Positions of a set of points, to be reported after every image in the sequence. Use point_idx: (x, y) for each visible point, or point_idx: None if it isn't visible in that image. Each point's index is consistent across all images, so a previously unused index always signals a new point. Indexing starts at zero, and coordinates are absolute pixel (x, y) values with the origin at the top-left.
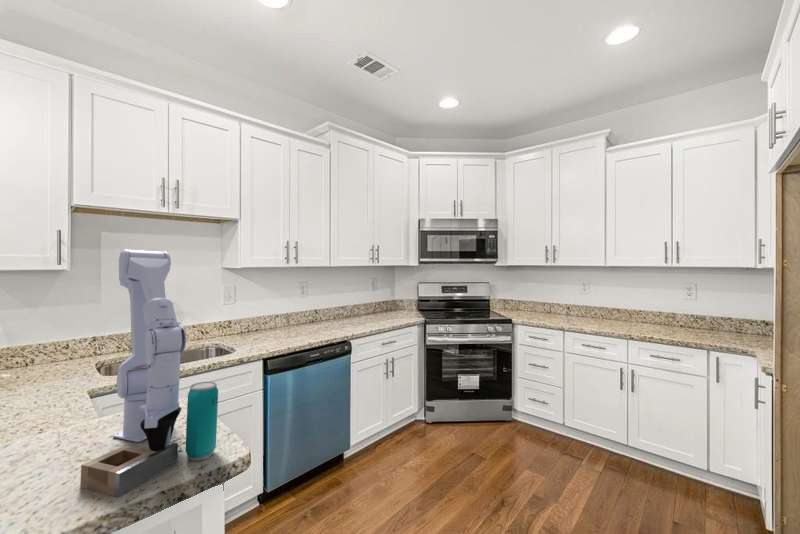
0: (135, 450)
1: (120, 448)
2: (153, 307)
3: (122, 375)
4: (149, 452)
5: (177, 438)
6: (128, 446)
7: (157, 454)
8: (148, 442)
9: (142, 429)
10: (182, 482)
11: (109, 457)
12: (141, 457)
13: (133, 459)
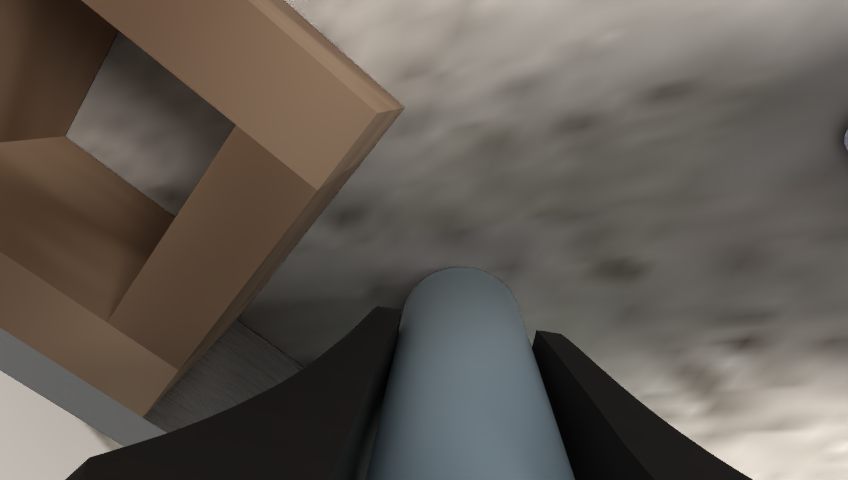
0: (199, 250)
1: (293, 79)
2: None
3: None
4: (131, 371)
5: (736, 396)
6: (327, 160)
7: (94, 425)
8: (329, 350)
9: (131, 448)
10: (102, 441)
11: (92, 6)
12: (39, 323)
13: (3, 266)
